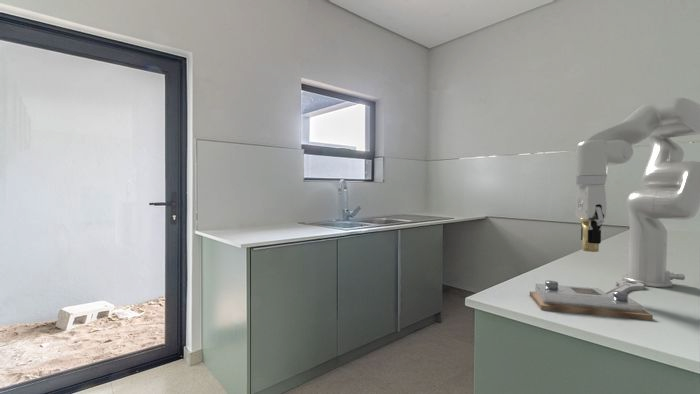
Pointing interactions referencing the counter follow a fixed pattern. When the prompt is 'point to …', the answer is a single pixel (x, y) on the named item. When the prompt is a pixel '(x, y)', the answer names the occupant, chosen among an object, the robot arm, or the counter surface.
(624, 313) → the board
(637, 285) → the adjustable wrench
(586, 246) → the bolt
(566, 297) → the metal plate with bolts
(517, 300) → the counter surface
